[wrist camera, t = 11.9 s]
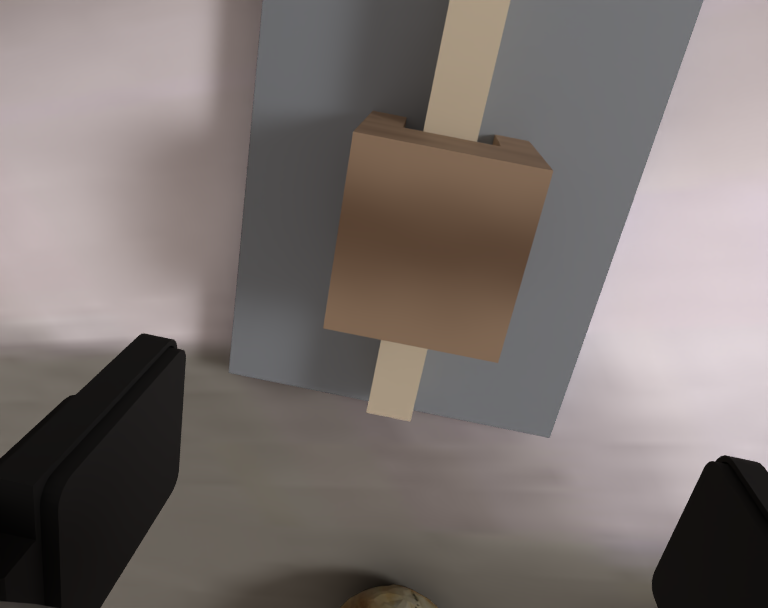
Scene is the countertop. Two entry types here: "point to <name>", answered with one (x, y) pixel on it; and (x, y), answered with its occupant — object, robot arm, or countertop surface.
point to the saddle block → (434, 237)
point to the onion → (388, 598)
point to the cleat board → (530, 98)
